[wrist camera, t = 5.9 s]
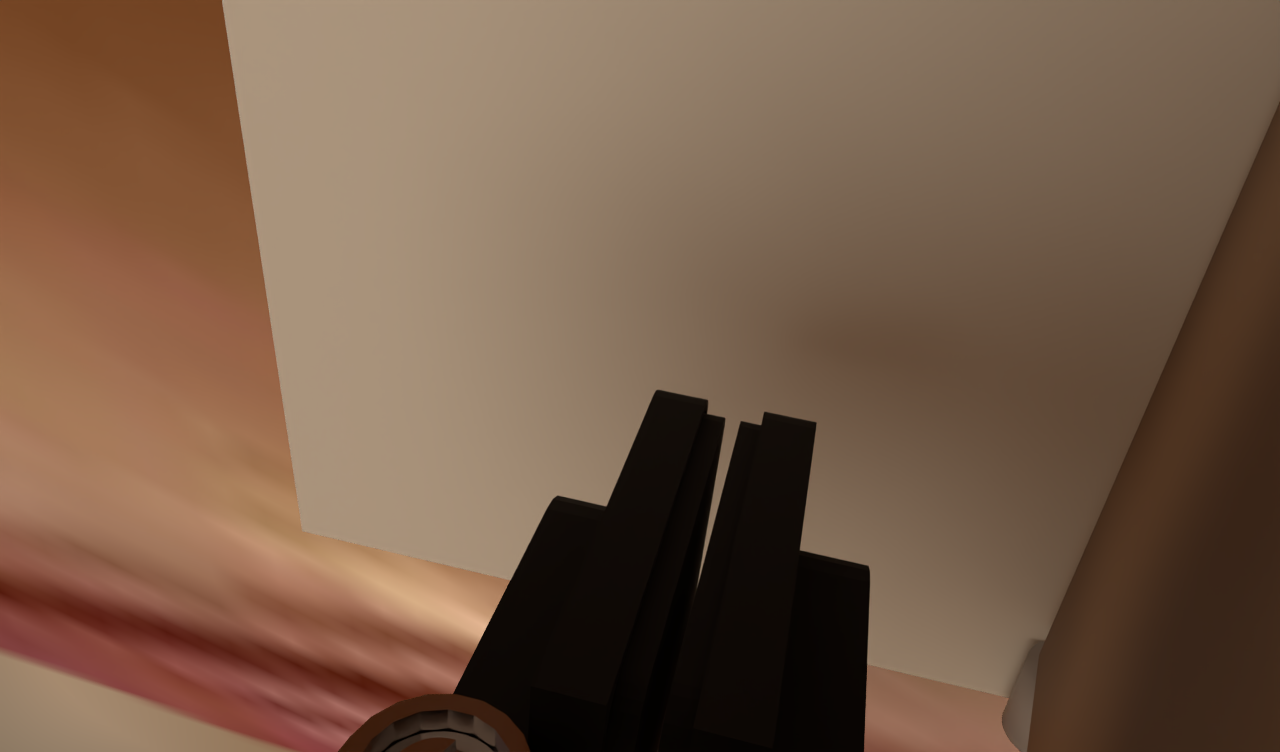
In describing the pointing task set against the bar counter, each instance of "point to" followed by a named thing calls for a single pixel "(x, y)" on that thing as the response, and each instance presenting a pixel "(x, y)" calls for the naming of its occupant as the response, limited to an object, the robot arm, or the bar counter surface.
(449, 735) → the robot arm
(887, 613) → the plaque base
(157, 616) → the bar counter surface
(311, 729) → the bar counter surface
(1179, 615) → the flip plaque
